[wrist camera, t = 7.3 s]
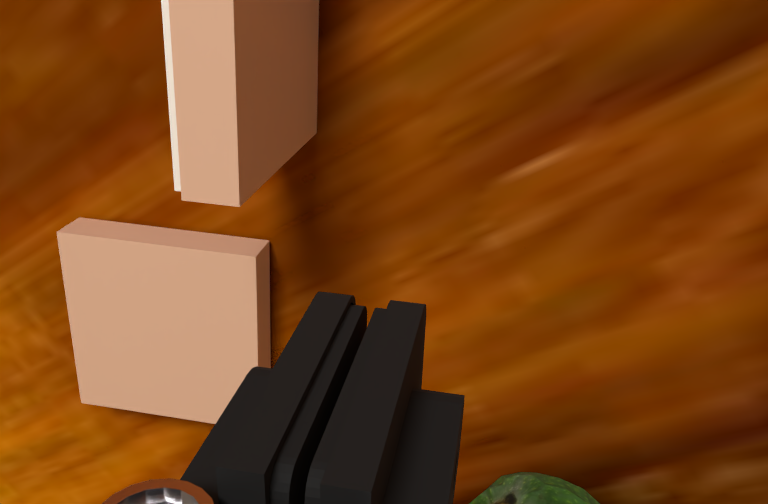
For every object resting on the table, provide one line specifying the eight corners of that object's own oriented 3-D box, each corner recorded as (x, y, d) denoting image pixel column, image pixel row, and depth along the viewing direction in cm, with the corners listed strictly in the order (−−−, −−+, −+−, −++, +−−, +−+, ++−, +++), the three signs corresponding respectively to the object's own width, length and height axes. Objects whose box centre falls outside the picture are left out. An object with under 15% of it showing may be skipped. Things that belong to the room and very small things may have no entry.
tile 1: (263, -117, 25) (145, -146, 17) (321, -114, 25) (228, -142, 17) (266, 127, 29) (170, 199, 21) (316, 132, 29) (239, 206, 21)
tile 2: (271, 237, 31) (83, 214, 32) (255, 257, 29) (56, 231, 30) (273, 404, 35) (104, 378, 36) (259, 431, 33) (81, 402, 34)
